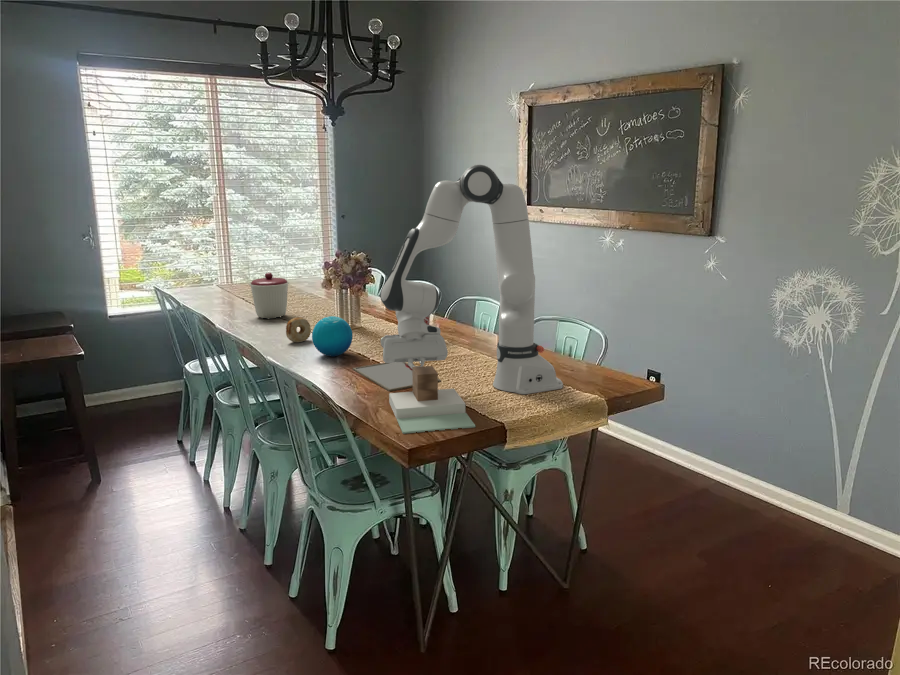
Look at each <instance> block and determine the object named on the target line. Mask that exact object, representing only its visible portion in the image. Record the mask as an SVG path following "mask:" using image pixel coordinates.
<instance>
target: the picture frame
mask: <svg viewBox="0 0 900 675" xmlns="http://www.w3.org/2000/svg"><path fill="white" fill-rule="evenodd" d="M352 371H354V372H356V373H358V374H359V375H361V376H363V377H365V378H366V379H367V380H369V381H371V382H372V383H374V384H376V385H377V386H379V387H381V389H384V390H386V391H387V392H395V391H398V390H399V391H400V390H404V389H409V388H413V376H412V369H411V368H410V366H409V365H408V362H400V363H385V362H380V363H375V364H370V365H363V366H356V367H352ZM438 381H441V382H442V380H441V379H440V378H438Z"/></svg>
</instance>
